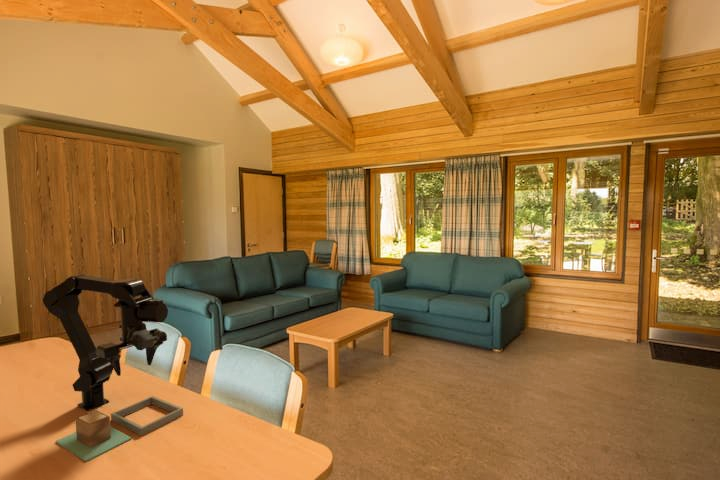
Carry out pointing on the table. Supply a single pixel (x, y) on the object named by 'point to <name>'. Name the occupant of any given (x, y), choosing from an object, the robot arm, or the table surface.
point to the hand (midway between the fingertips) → (134, 370)
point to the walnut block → (93, 428)
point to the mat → (90, 453)
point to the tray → (140, 430)
